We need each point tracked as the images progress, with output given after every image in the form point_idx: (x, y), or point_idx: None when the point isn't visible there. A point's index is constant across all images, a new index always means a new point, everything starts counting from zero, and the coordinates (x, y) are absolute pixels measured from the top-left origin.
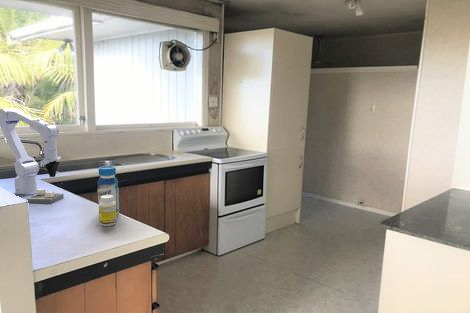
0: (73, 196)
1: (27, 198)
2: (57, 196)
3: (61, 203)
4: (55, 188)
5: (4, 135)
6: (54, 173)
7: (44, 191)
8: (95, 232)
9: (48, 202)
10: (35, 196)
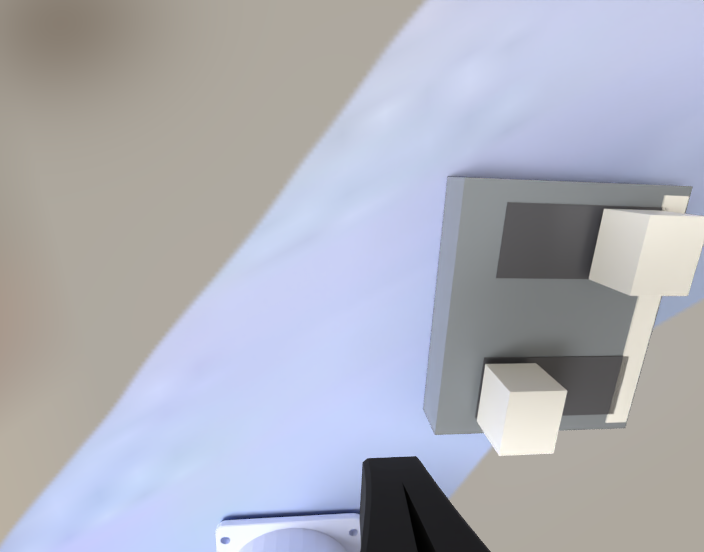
0: (389, 88)
1: (626, 422)
2: (583, 182)
3: (660, 83)
4: (92, 460)
5: None
6: (435, 508)
7: (513, 377)
8: None
9: None
10: (569, 397)
